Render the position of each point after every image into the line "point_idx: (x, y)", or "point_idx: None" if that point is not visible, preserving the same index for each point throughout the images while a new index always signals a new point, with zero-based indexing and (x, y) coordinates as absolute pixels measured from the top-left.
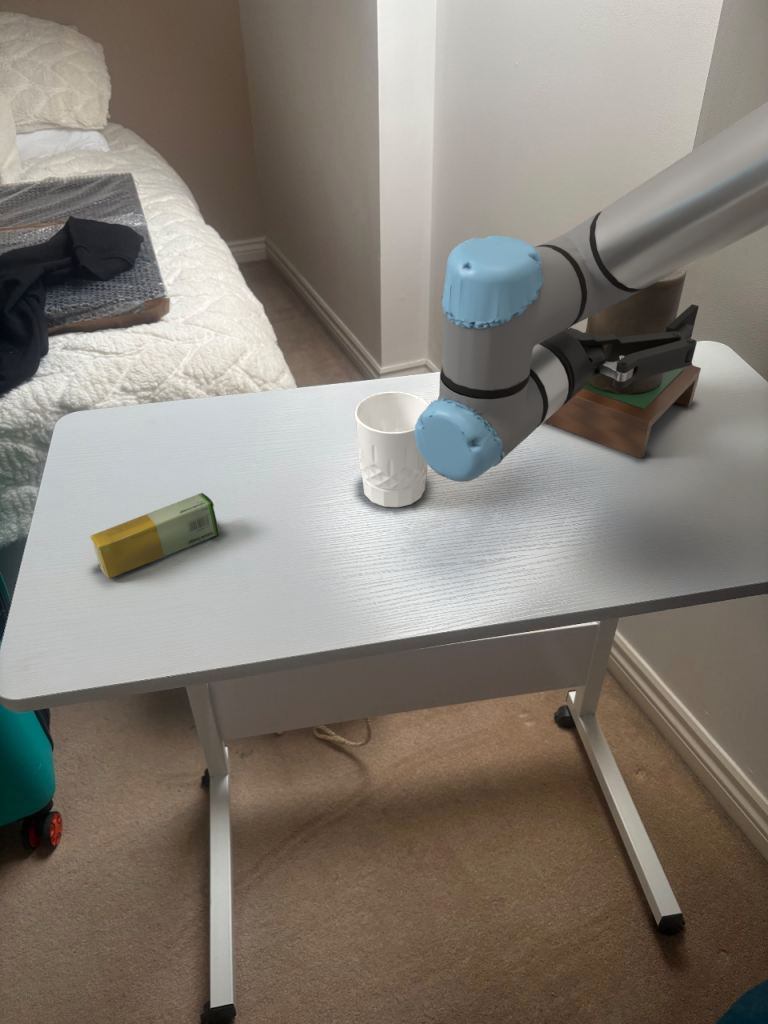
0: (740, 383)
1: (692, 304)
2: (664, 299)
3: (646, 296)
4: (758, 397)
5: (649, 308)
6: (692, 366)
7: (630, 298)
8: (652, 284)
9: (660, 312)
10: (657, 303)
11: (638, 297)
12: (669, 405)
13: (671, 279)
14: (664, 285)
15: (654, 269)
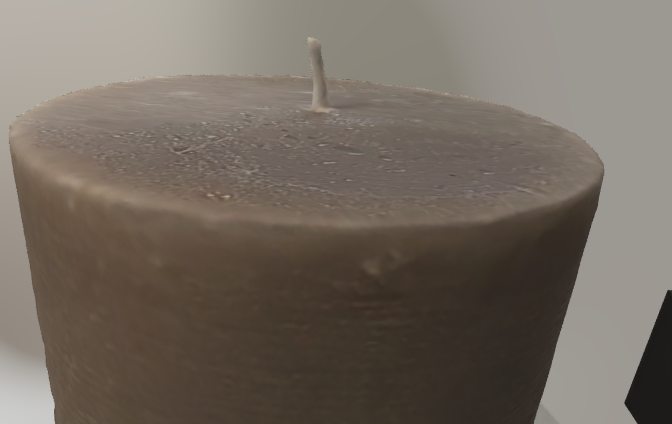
0: None
1: (670, 291)
2: (566, 307)
3: (504, 334)
4: (540, 404)
5: (513, 403)
6: None
7: (390, 388)
8: (550, 230)
9: (541, 387)
10: (549, 351)
11: (452, 361)
12: None
13: (603, 168)
14: (588, 218)
15: None
